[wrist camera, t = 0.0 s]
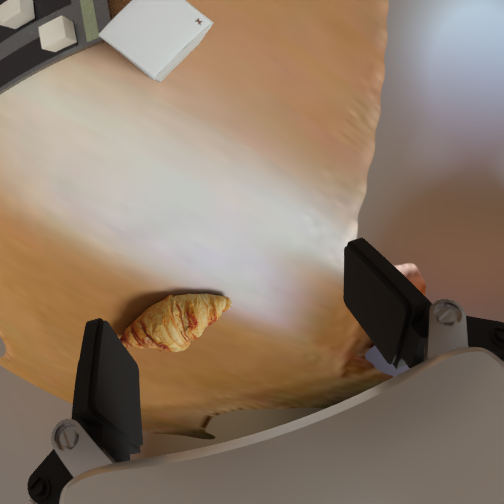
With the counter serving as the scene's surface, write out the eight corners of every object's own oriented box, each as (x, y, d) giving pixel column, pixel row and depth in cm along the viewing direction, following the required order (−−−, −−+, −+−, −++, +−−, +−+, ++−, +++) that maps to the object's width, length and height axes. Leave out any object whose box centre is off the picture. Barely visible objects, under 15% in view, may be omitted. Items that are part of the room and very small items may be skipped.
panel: (-33, 11, 14) (-38, 10, 13) (100, -63, 17) (97, -67, 15) (-21, 108, 24) (-27, 110, 22) (115, 37, 27) (113, 35, 25)
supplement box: (160, 9, 26) (158, -25, 16) (201, 43, 30) (217, 23, 20) (117, 50, 28) (94, 34, 17) (159, 84, 32) (154, 81, 21)
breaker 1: (13, 11, 18) (-2, 6, 14) (33, 0, 18) (19, -7, 14) (15, 29, 19) (0, 24, 16) (34, 18, 20) (20, 12, 16)
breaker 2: (51, 32, 22) (38, 27, 18) (73, 22, 22) (62, 15, 19) (55, 52, 24) (41, 48, 20) (76, 42, 24) (65, 37, 20)
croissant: (218, 270, 52) (219, 277, 44) (241, 321, 53) (245, 336, 46) (114, 314, 51) (99, 327, 43) (139, 361, 52) (129, 380, 44)
